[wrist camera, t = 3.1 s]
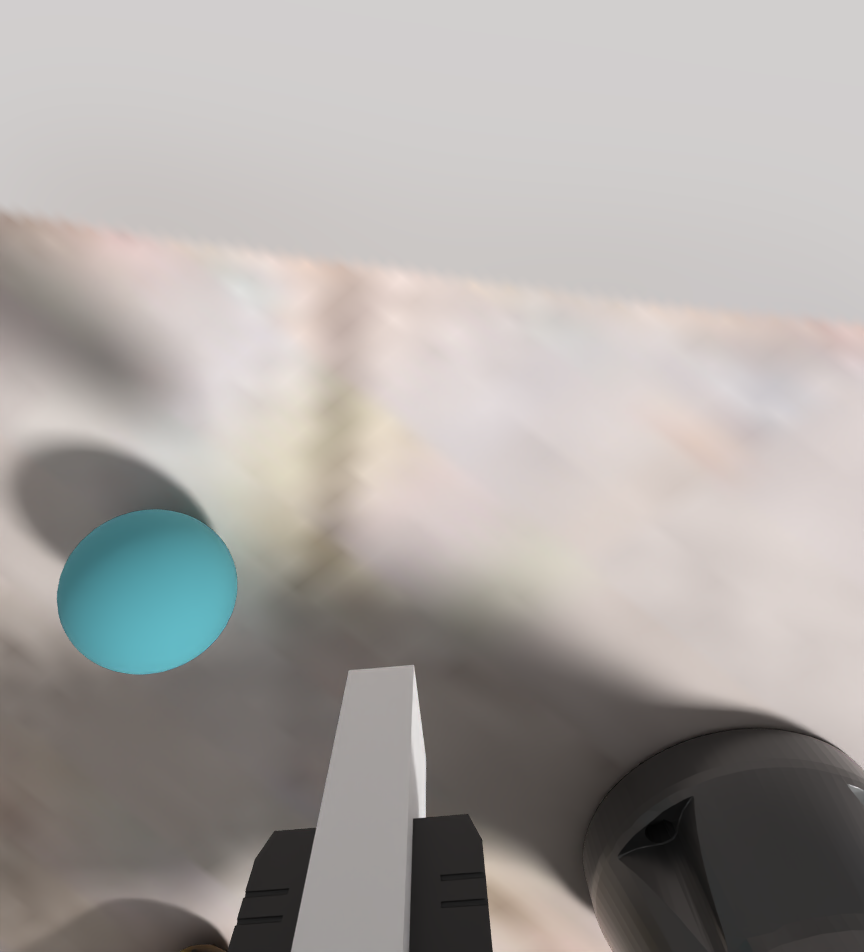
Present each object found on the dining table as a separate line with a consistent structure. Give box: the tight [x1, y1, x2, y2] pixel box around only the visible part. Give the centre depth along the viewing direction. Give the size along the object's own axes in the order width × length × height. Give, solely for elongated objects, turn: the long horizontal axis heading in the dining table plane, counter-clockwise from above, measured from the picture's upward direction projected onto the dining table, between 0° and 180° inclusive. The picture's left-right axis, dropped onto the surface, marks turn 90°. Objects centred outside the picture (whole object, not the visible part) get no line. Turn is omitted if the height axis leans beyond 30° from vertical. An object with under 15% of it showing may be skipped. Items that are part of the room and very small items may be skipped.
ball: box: [57, 509, 237, 674], centre depth 21 cm, size 6×6×6 cm
